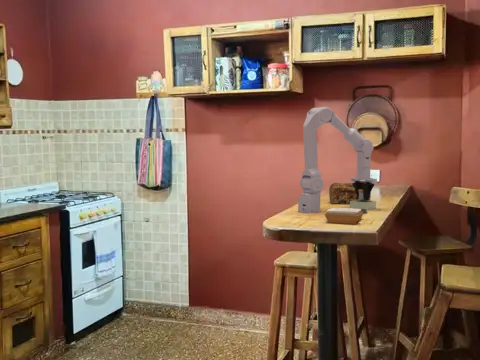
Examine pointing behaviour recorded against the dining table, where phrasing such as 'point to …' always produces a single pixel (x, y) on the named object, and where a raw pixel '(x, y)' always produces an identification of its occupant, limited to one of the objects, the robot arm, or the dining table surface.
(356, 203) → the bin
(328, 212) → the soap dish
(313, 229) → the dining table surface
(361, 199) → the jar with copper lid
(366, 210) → the mount
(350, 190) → the bread
